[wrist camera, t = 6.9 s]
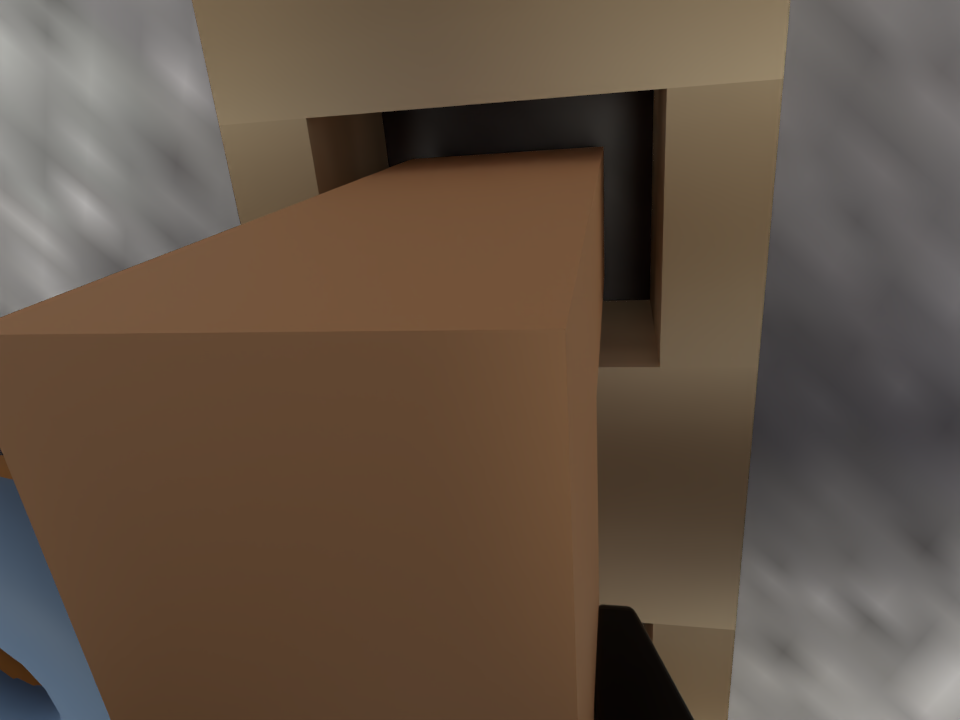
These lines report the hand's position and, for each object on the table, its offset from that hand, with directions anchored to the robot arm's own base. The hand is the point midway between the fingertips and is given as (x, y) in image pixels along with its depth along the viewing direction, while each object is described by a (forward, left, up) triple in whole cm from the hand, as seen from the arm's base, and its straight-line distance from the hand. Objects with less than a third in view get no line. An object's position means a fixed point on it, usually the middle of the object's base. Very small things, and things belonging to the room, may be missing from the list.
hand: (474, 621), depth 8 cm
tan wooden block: (0, 0, -4) cm, 4 cm away
